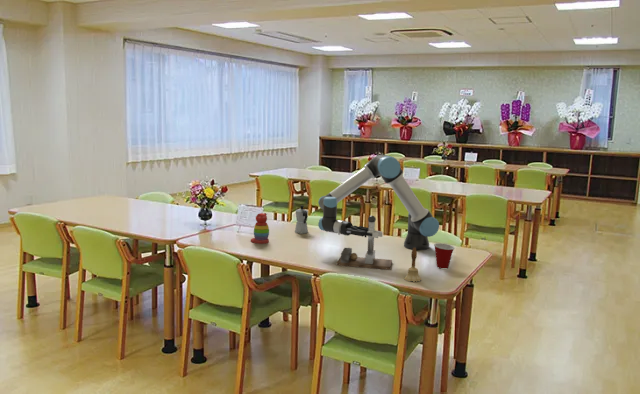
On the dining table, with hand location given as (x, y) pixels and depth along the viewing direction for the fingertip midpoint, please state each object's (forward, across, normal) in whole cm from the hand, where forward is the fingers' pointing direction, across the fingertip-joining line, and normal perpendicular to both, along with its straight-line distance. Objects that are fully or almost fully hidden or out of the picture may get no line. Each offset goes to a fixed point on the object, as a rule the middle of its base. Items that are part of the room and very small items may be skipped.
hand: (380, 234), depth 283 cm
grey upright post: (-5, 0, -15) cm, 16 cm away
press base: (-8, +1, -17) cm, 19 cm away
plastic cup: (+26, -22, -17) cm, 38 cm away
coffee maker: (-79, -31, -17) cm, 87 cm away
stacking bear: (-81, +5, -17) cm, 83 cm away
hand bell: (+24, +8, -17) cm, 31 cm away
